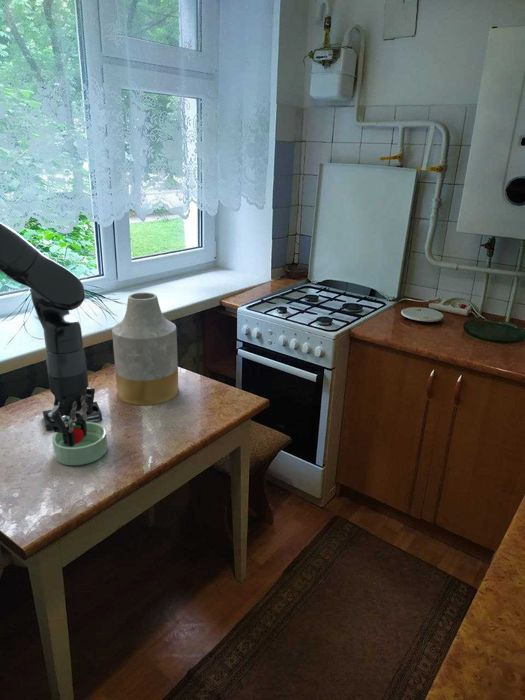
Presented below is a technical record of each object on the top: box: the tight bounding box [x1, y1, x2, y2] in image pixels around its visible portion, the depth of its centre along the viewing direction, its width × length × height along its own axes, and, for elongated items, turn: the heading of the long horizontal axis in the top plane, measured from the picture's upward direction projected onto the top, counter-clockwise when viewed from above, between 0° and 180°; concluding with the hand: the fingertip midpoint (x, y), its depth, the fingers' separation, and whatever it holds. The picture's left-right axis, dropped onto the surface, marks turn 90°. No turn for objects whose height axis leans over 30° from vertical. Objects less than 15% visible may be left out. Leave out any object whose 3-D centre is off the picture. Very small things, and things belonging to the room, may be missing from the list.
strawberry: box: [73, 425, 84, 444], centre depth 107 cm, size 4×4×4 cm
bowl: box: [51, 422, 109, 466], centre depth 120 cm, size 12×12×5 cm
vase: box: [111, 292, 180, 407], centre depth 147 cm, size 18×18×30 cm
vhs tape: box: [42, 401, 103, 432], centre depth 135 cm, size 14×8×2 cm, turn 117°
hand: (75, 440), depth 108 cm, fingers closed on strawberry, 3 cm apart
